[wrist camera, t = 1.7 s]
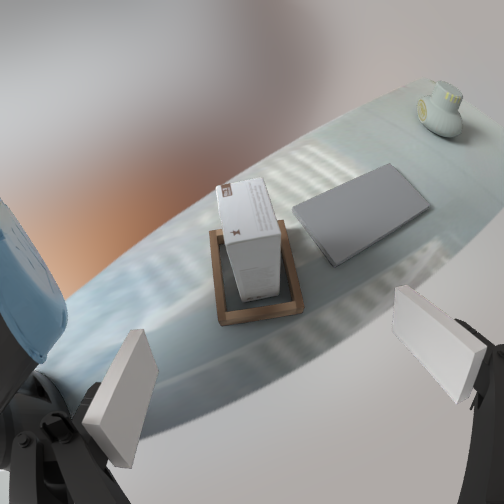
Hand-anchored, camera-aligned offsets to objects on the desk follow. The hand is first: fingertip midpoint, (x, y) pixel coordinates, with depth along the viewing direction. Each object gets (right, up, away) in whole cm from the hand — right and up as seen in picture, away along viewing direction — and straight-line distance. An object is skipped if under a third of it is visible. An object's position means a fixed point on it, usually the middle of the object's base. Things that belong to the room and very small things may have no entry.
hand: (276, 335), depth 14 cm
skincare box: (-1, +1, +19) cm, 19 cm away
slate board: (+14, +10, +22) cm, 28 cm away
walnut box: (-1, +2, +19) cm, 19 cm away
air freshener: (+36, +29, +32) cm, 56 cm away
